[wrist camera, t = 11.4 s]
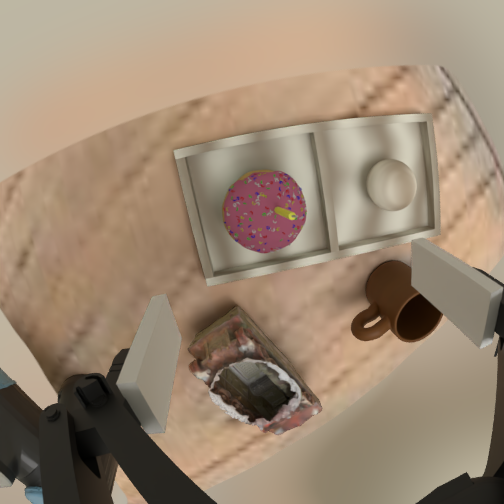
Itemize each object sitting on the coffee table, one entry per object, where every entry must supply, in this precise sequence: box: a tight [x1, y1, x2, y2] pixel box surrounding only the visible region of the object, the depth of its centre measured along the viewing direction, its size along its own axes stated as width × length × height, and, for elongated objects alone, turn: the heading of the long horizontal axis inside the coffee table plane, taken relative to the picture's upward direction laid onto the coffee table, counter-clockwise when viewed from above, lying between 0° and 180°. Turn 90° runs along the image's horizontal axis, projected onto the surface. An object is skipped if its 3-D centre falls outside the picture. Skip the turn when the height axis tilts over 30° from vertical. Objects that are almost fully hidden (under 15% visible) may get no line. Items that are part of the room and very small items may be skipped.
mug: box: [351, 261, 443, 342], centre depth 38 cm, size 12×8×9 cm, turn 110°
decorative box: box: [188, 306, 322, 435], centre depth 40 cm, size 13×20×10 cm, turn 30°
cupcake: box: [222, 170, 307, 253], centre depth 31 cm, size 9×8×12 cm
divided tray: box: [173, 113, 440, 286], centre depth 36 cm, size 31×16×2 cm, turn 101°
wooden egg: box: [366, 159, 417, 211], centre depth 34 cm, size 6×6×6 cm
